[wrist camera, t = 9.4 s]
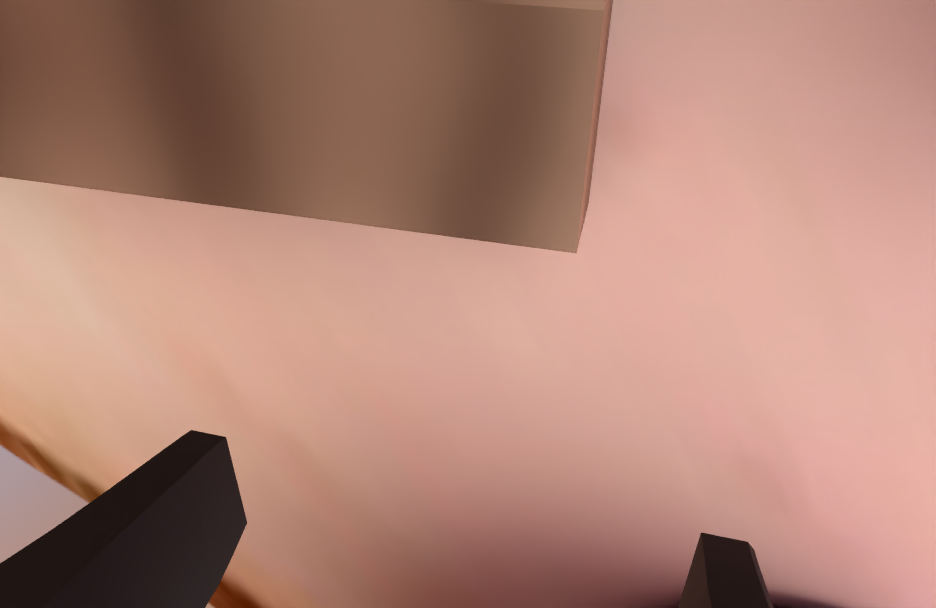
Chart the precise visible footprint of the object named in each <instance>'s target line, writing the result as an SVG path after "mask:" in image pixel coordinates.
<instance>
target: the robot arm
mask: <svg viewBox="0 0 936 608" xmlns="http://www.w3.org/2000/svg"><path fill="white" fill-rule="evenodd" d="M246 524H247V520H246V516H245V512H244V508H243V504H242V500H241V496H240V492H239V488H238V484H237V480H236V476H235V472H234V468H233V464H232V460H231V456H230V452H229V448H228V444H227V440H226V437H223V436H218V435H213V434H208V433H203V432H198V431H193V430H191V431H189V432H188V433H186V434H185V435H183V436H182V437H181V438H179V439H178V440H176V441H175V442H174V443H172V444H171V445H169V446H168V447H167V448H165V449H164V450H162V451H161V452H160V453H158V454H157V455H156V456H154V457H153V458H151V459H150V460H149V461H147V462H146V463H145V464H143V465H142V466H140V467H139V468H138V469H136V470H135V471H134V472H132V473H131V474H129V475H128V476H127V477H125V478H124V479H123V480H121V481H120V482H118V483H117V484H116V485H114V486H113V487H112V488H110V489H109V490H107V491H106V492H105V493H103V494H102V495H100V496H99V497H98V498H96V499H95V500H93V501H92V502H91V503H89V504H88V505H86V506H85V507H83V508H82V509H81V510H79V511H78V512H76V513H75V514H74V515H72V516H71V517H70V518H68V519H67V520H65V521H64V522H62V523H61V524H59V525H58V526H56V527H55V528H54V529H52V530H51V531H49V532H48V533H46V534H45V535H43V536H42V537H40V538H38V539H37V540H36V541H34V542H32V543H31V544H29V545H28V546H26V547H25V548H23V549H22V550H20V551H19V552H17V553H16V554H14V555H13V556H11V557H10V558H8V559H7V560H5V561H3V562H2V563H0V608H205V607H206V605H207V604H208V602H209V600H210V599H211V597H212V595H213V593H214V592H215V590H216V588H217V587H218V585H219V583H220V581H221V579H222V577H223V575H224V573H225V571H226V568H227V566H228V564H229V562H230V560H231V558H232V556H233V554H234V551H235V549H236V547H237V544H238V542H239V540H240V538H241V535H242V533H243V531H244V529H245V526H246ZM678 608H774V607H773V605H772V602H771V599H770V597H769V594H768V591H767V588H766V585H765V582H764V579H763V576H762V573H761V570H760V567H759V564H758V561H757V558H756V555H755V551H754V549H753V548H752V546H751V545H750V544H749V543H748V542H745V541H740V540H735V539H730V538H725V537H720V536H715V535H710V534H705V533H701V535H700V538H699V542H698V545H697V548H696V551H695V555H694V558H693V561H692V564H691V567H690V571H689V574H688V577H687V580H686V584H685V587H684V590H683V593H682V597H681V600H680V603H679V606H678Z"/></svg>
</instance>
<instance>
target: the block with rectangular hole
mask: <svg viewBox="0 0 936 608" xmlns="http://www.w3.org/2000/svg"><path fill="white" fill-rule="evenodd" d="M612 2H613V0H0V177H7V178H14V179H22V180H29V181H37V182H44V183H52V184H59V185H67V186H74V187H82V188H89V189H97V190H104V191H112V192H120V193H127V194H135V195H142V196H150V197H157V198H165V199H172V200H180V201H187V202H195V203H202V204H210V205H217V206H225V207H232V208H240V209H247V210H255V211H262V212H270V213H277V214H285V215H292V216H300V217H308V218H315V219H323V220H330V221H338V222H345V223H353V224H360V225H368V226H375V227H383V228H390V229H398V230H405V231H413V232H420V233H428V234H435V235H443V236H450V237H458V238H465V239H473V240H480V241H488V242H496V243H503V244H511V245H518V246H526V247H533V248H541V249H548V250H556V251H563V252H571V253H576V252H577V248H578V244H579V240H580V236H581V232H582V228H583V223H584V219H585V215H586V211H587V207H588V203H589V194H590V186H591V178H592V169H593V161H594V152H595V144H596V136H597V127H598V119H599V111H600V102H601V94H602V85H603V77H604V69H605V60H606V52H607V44H608V35H609V27H610V18H611V10H612Z"/></svg>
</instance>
